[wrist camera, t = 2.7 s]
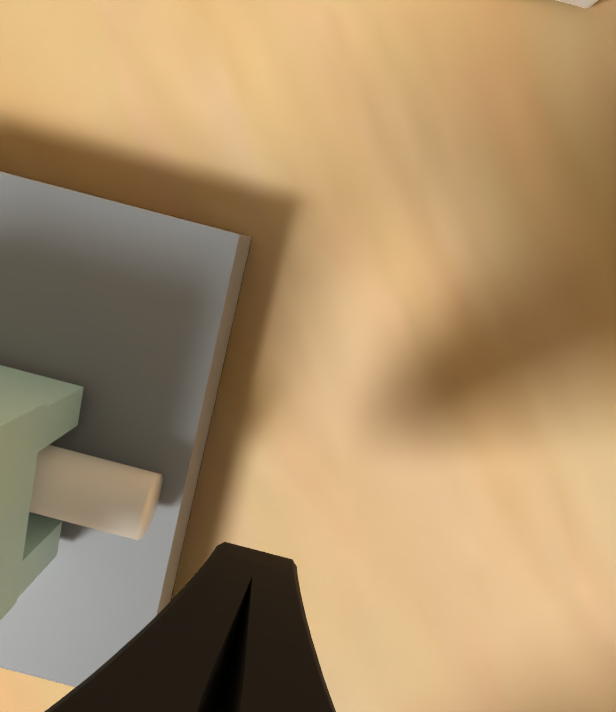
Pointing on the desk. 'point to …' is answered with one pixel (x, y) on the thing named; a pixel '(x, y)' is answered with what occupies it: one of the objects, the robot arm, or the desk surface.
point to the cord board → (113, 396)
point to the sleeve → (28, 473)
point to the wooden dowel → (94, 492)
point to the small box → (580, 2)
